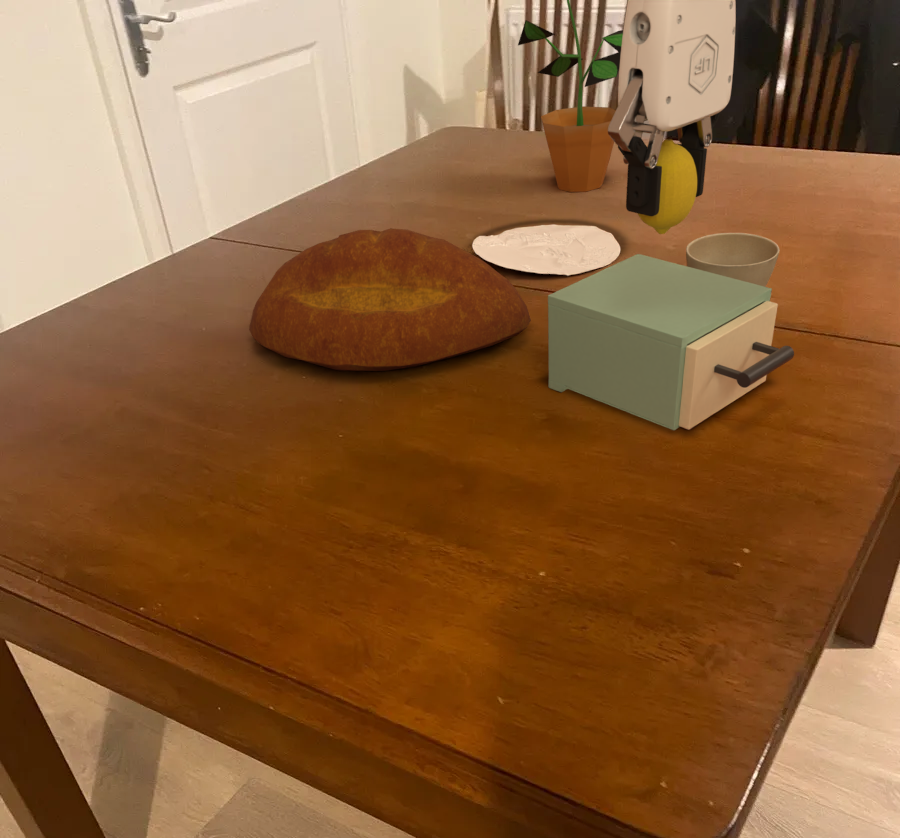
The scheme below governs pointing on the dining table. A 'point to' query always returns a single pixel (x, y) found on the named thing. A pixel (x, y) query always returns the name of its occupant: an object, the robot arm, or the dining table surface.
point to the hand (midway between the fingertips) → (664, 201)
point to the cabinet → (638, 331)
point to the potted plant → (578, 116)
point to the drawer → (729, 363)
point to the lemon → (674, 187)
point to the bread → (385, 303)
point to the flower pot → (734, 256)
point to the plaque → (549, 249)
